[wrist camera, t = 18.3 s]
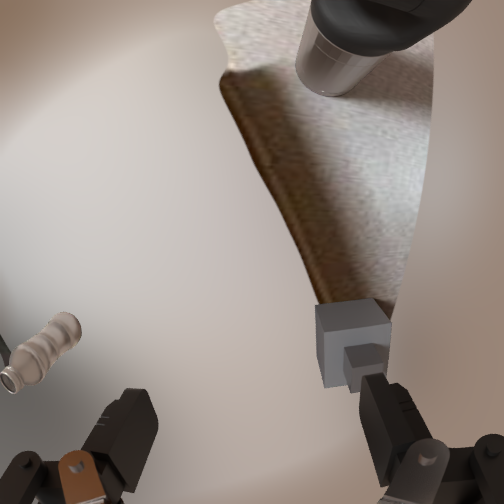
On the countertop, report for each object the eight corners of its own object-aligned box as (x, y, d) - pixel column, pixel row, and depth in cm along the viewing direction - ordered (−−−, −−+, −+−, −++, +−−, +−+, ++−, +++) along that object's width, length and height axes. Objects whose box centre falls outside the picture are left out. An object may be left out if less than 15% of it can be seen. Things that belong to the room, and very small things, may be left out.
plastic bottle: (85, 314, 50) (20, 374, 31) (86, 345, 52) (28, 409, 32) (57, 303, 50) (-12, 355, 31) (58, 334, 52) (-3, 390, 32)
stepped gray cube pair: (314, 304, 48) (330, 353, 34) (372, 297, 47) (405, 341, 34) (316, 355, 50) (329, 411, 36) (370, 348, 49) (396, 399, 36)
